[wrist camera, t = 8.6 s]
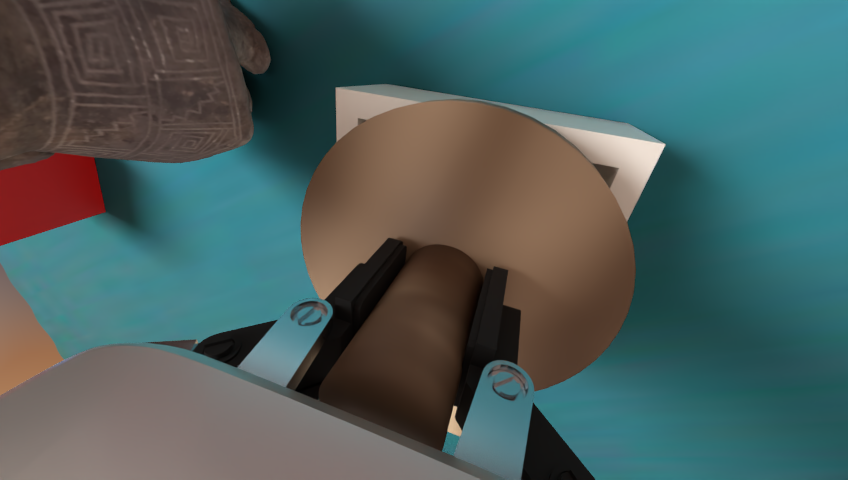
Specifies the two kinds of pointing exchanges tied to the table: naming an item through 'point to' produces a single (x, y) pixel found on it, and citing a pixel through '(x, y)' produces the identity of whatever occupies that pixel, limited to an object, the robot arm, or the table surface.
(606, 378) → the table surface
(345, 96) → the dish
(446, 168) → the lid
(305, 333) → the robot arm
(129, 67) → the clay figurine
